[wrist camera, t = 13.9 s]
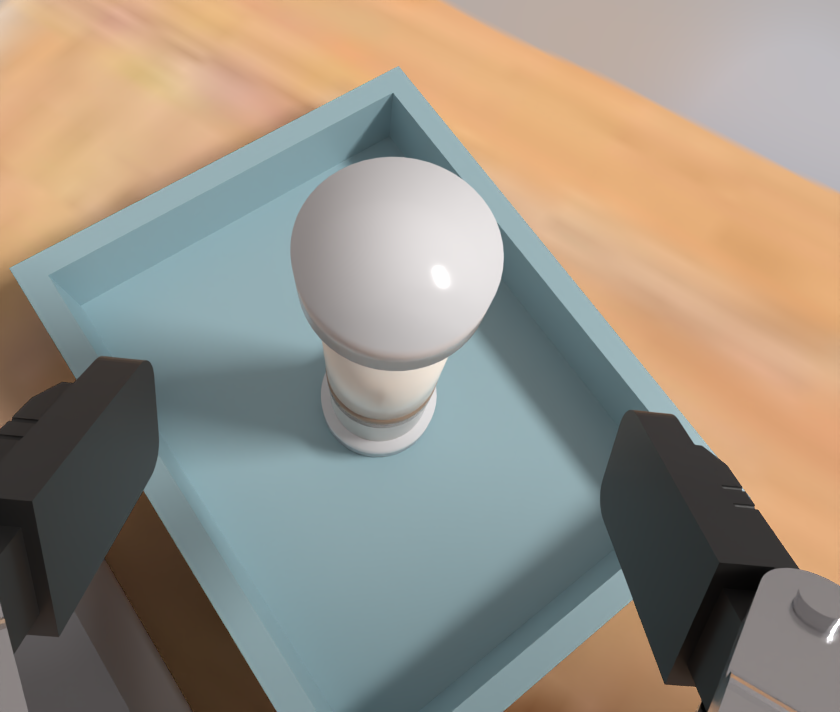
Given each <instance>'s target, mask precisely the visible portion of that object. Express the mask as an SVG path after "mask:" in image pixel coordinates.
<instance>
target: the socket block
mask: <svg viewBox="0 0 840 712" xmlns="http://www.w3.org/2000/svg"><path fill="white" fill-rule="evenodd" d="M14 658H15V662H16V666H17V669H18V673H19V677H20V681H21V685H22V689H23V693H24V697H25V701H26V705H27V709H28V712H193V711H192V710H191V708H190V706H189V704H188V703H187V701H186V699H185V697H184V696H183V694H182V692H181V691H180V689H179V687H178V685H177V684H176V682H175V680H174V678H173V677H172V675H171V673H170V671H169V670H168V668H167V666H166V664H165V663H164V661H163V659H162V658H161V656H160V654H159V652H158V651H157V649H156V647H155V645H154V644H153V642H152V640H151V638H150V637H149V635H148V633H147V631H146V630H145V628H144V626H143V624H142V623H141V621H140V619H139V618H138V616H137V614H136V612H135V611H134V609H133V607H132V605H131V604H130V602H129V600H128V598H127V597H126V595H125V593H124V591H123V590H122V588H121V586H120V585H119V583H118V581H117V579H116V578H115V576H114V574H113V572H112V571H111V569H110V567H109V565H108V564H107V562H106V560H105V558H104V560H103V562H102V563H101V565H100V567H99V568H98V570H97V572H96V574H95V575H94V577H93V579H92V581H91V582H90V584H89V586H88V588H87V589H86V591H85V593H84V595H83V596H82V598H81V600H80V602H79V603H78V605H77V607H76V609H75V610H74V612H73V614H72V616H71V617H70V619H69V621H68V622H67V624H66V626H65V628H64V629H63V631H62V633H61V635H60V636H59V637H50V636H36V635H26V636H25V638H24V639H23V641H22V643H21V644H20V646H19V647H18V649H17V651H16V652H15V654H14Z"/></svg>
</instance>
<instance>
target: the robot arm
mask: <svg viewBox="0 0 840 712" xmlns="http://www.w3.org/2000/svg"><path fill="white" fill-rule="evenodd" d="M158 451H159V430H158V417H157V405H156V392H155V379H154V371H153V367H152V365H151V363H150V362H149V361H147V360H139V359H129V358H119V357H109V356H100V357H98V358H97V359H95V360H94V362H93V363H92V364H91V365H90V366H89V367H88V368H87V369H86V370H85V371H84V372H83V373H82V374H81V375H80V377H79V378H78V379H77V380H76V381H75V382H74V383H67V382H61V383H59V384H57V385H56V386H54V387H52V388H50V389H48V390H46V391H44V392H42V393H40V394H38V395H36V396H34V397H32V398H31V399H30V400H29V401H28V402H27V403H26V404H25V405H24V406H23V407H22V408H21V409H20V410H19V411H18V412H17V413H16V414H15V415H14V416H13V417H12V421H8V422H7V423H6V424H5V425H4V426H3V427H2V428H1V429H0V712H28V709H27V705H26V701H25V697H24V693H23V689H22V685H21V681H20V677H19V673H18V669H17V666H16V662H15V658H14V654H15V652H16V651H17V649H18V647H19V646H20V644H21V643H22V641H23V639H24V638H25V636H26V635H36V636H50V637H59V636H60V635H61V633H62V631H63V629H64V628H65V626H66V624H67V622H68V621H69V619H70V617H71V616H72V614H73V612H74V610H75V609H76V607H77V605H78V603H79V602H80V600H81V598H82V596H83V595H84V593H85V591H86V589H87V588H88V586H89V584H90V582H91V581H92V579H93V577H94V575H95V574H96V572H97V570H98V568H99V567H100V565H101V563H102V562H103V560H104V558H105V556H106V555H107V553H108V551H109V549H110V548H111V546H112V544H113V542H114V541H115V539H116V537H117V535H118V534H119V532H120V530H121V528H122V527H123V525H124V523H125V521H126V520H127V518H128V516H129V514H130V513H131V511H132V509H133V508H134V506H135V504H136V502H137V501H138V499H139V497H140V495H141V494H142V492H143V490H144V488H145V487H146V485H147V483H148V481H149V480H150V478H151V476H152V474H153V471H154V469H155V466H156V462H157V457H158ZM754 506H755V505H754V503H753V502H752V500H751V499H750V497H749V496H748V495H747V493H746V492H745V491H742V486H741V485H740V483H739V482H738V480H737V479H736V477H735V476H734V475H733V473H732V472H731V470H730V469H729V467H728V466H727V465H726V464H725V463H724V462H722V461H721V460H720V459H719V458H717V457H716V456H715V455H714V454H712V453H711V452H710V451H709V450H707V449H706V448H705V447H704V446H702V445H695V444H694V443H693V441H692V440H691V438H690V437H689V435H688V434H687V432H686V431H685V429H684V427H683V426H682V424H681V423H680V421H679V420H678V418H677V417H676V416H675V415H673V414H668V413H658V412H648V411H638V410H628V411H627V412H626V413H625V414H624V415H623V417H622V419H621V422H620V425H619V428H618V432H617V435H616V438H615V441H614V445H613V448H612V451H611V454H610V457H609V461H608V464H607V467H606V470H605V473H604V477H603V480H602V484H601V490H600V508H601V514H602V518H603V521H604V523H605V526H606V529H607V531H608V534H609V537H610V539H611V542H612V545H613V547H614V550H615V553H616V555H617V558H618V561H619V563H620V566H621V569H622V572H623V574H624V577H625V580H626V582H627V585H628V588H629V590H630V593H631V596H632V598H633V601H634V604H635V606H636V609H637V612H638V614H639V617H640V620H641V622H642V625H643V628H644V630H645V633H646V636H647V638H648V641H649V644H650V646H651V649H652V652H653V654H654V657H655V660H656V662H657V665H658V668H659V670H660V673H661V676H662V678H663V681H664V684H666V685H680V686H693V687H696V688H697V690H698V692H699V695H700V697H701V702H700V704H699V706H698V708H697V710H696V712H840V586H839V585H837V584H836V583H834V582H832V581H830V580H828V579H826V578H824V577H821V576H819V575H817V574H814V573H811V572H808V571H804V570H800V569H799V568H798V566H797V565H796V564H795V562H794V561H793V559H792V558H791V556H790V555H789V553H788V552H787V551H786V549H785V548H784V546H783V545H782V543H781V542H780V541H779V539H778V538H777V536H776V535H775V533H774V532H773V531H772V529H771V528H770V526H769V525H768V523H767V522H766V520H765V519H764V518H763V516H762V515H761V513H760V512H759V510H755V508H754Z"/></svg>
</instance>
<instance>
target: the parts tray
mask: <svg viewBox="0 0 840 712" xmlns="http://www.w3.org/2000/svg"><path fill="white" fill-rule="evenodd" d="M381 157H405V158H413V159H418V160H422V161H426V162H430V163H432V164H435V165H437V166H440V167H442V168H444V169H446V170H448V171H450V172H452V173H454V174H455V175H457V176H458V177H460V178H461V179H463V180H464V181H465V182H466V183H468V184H469V185H470V186H471V187H472V188H473V189H474V190H475V191H476V192H477V193H478V194H479V195H480V196H481V197H482V198H483V200H484V201H485V203H486V204H487V205H488V207H489V208H490V210H491V212H492V214H493V216H494V218H495V219H496V222H497V225H498V227H499V230H500V233H501V238H502V242H503V252H504V261H503V271H502V276H501V281H500V284H499V286H498V289H497V292H496V294H495V296H494V298H493V300H492V302H491V304H490V306H489V308H488V310H487V312H486V313H485V315H484V317H483V319H482V321H481V323H480V325H479V327H478V328H477V330H476V331H475V333H474V334H473V335H472V337H471V338H470V339H469V340H468V341H467V342H466V343H465V344H464V345H463V346H462V347H461V348H460V349H459V350H457V351H456V352H455V353H453V354H452V355H451V356H449V357H448V358H447V361H446V363H445V365H444V367H443V370H442V372H441V374H440V377H439V379H438V382H437V385H436V393H437V398H436V406H435V410H434V413H433V416H432V419H431V420H430V422H429V424H428V426H427V428H426V430H425V432H424V433H423V435H422V436H421V437H420V439H419V440H418V441H417V442H416V443H415V444H413V445H412V446H411V447H410V448H408V449H406V450H405V451H403V452H401V453H398V454H396V455H392V456H388V457H367V456H363V455H360V454H357V453H355V452H353V451H351V450H349V449H347V448H346V447H345V446H343V445H342V444H341V443H340V442H339V441H338V440H337V439H336V438H335V437H334V436H333V434H332V433H331V431H330V429H329V428H328V426H327V423H326V421H325V417H324V413H323V409H322V403H321V387H322V382H323V378H324V375H325V373H326V365H325V358H324V352H323V345H322V340H321V339H320V338H319V337H318V335H317V334H316V333H315V332H314V330H313V329H312V328H311V326H310V324H309V323H308V321H307V319H306V317H305V315H304V313H303V310H302V308H301V305H300V301H299V297H298V293H297V289H296V284H295V280H294V275H293V270H292V265H291V256H290V243H291V236H292V230H293V226H294V223H295V220H296V217H297V215H298V213H299V211H300V209H301V207H302V205H303V204H304V202H305V201H306V199H307V198H308V197H309V195H310V194H311V193H312V192H313V191H314V190H315V188H316V187H317V186H318V185H319V184H321V183H322V182H323V181H324V180H325V179H327V178H328V177H329V176H331V175H332V174H334V173H336V172H337V171H339V170H341V169H343V168H345V167H347V166H349V165H351V164H355V163H358V162H361V161H364V160H369V159H374V158H381ZM9 269H10V270H11V272H12V273H13V275H14V277H15V278H16V280H17V282H18V283H19V285H20V287H21V288H22V290H23V292H24V293H25V295H26V297H27V298H28V300H29V302H30V303H31V305H32V307H33V308H34V310H35V312H36V313H37V315H38V317H39V318H40V320H41V322H42V323H43V325H44V327H45V328H46V330H47V332H48V333H49V335H50V336H51V338H52V340H53V341H54V343H55V345H56V346H57V348H58V350H59V351H60V353H61V355H62V356H63V358H64V360H65V361H66V363H67V365H68V366H69V368H70V370H71V371H72V373H73V375H74V376H75V378H76V380H77V379H78V378H79V377H80V375H81V374H82V373H83V372H84V371H85V370H86V369H87V368H88V367H89V366H90V365H91V364H92V363H93V362H94V360H95V359H97V358H98V357H100V356H109V357H119V358H129V359H139V360H147V361H149V362H150V363H151V365H152V367H153V371H154V379H155V392H156V405H157V417H158V430H159V451H158V457H157V462H156V466H155V469H154V471H153V474H152V476H151V478H150V480H149V481H148V483H147V485H146V487H145V488H144V490H143V491H144V492H145V494H146V496H147V497H148V499H149V501H150V502H151V504H152V506H153V507H154V509H155V511H156V512H157V514H158V516H159V517H160V519H161V521H162V522H163V524H164V526H165V527H166V529H167V530H168V532H169V534H170V535H171V537H172V539H173V540H174V542H175V544H176V545H177V547H178V549H179V550H180V552H181V554H182V555H183V557H184V559H185V560H186V562H187V564H188V565H189V567H190V569H191V570H192V572H193V574H194V575H195V577H196V579H197V580H198V582H199V584H200V585H201V587H202V589H203V590H204V592H205V594H206V595H207V597H208V598H209V600H210V602H211V603H212V605H213V607H214V608H215V610H216V612H217V613H218V615H219V617H220V618H221V620H222V622H223V623H224V625H225V627H226V628H227V630H228V632H229V633H230V635H231V637H232V638H233V640H234V642H235V643H236V645H237V647H238V648H239V650H240V652H241V653H242V655H243V657H244V658H245V660H246V661H247V663H248V665H249V666H250V668H251V670H252V671H253V673H254V675H255V676H256V678H257V680H258V681H259V683H260V685H261V686H262V688H263V690H264V691H265V693H266V695H267V696H268V698H269V700H270V701H271V703H272V705H273V706H274V708H275V710H276V711H277V712H503V711H504V710H505V709H507V708H508V707H509V706H510V705H511V704H512V703H513V702H515V701H516V700H517V699H518V698H519V697H520V696H522V695H523V694H524V693H525V692H526V691H527V690H529V689H530V688H531V687H532V686H533V685H534V684H535V683H537V682H538V681H539V680H540V679H541V678H542V677H544V676H545V675H546V674H547V673H548V672H549V671H551V670H552V669H553V668H554V667H555V666H556V665H557V664H559V663H560V662H561V661H562V660H563V659H564V658H566V657H567V656H568V655H569V654H570V653H571V652H573V651H574V650H575V649H576V648H577V647H578V646H580V645H581V644H582V643H583V642H584V641H585V640H586V639H588V638H589V637H590V636H591V635H592V634H593V633H595V632H596V631H597V630H598V629H599V628H600V627H602V626H603V625H604V624H605V623H606V622H607V621H608V620H610V619H611V618H612V617H613V616H614V615H615V614H617V613H618V612H619V611H620V610H621V609H622V608H624V607H625V606H626V605H627V604H628V603H629V602H630V601H632V600H633V598H632V596H631V593H630V590H629V588H628V585H627V582H626V580H625V577H624V574H623V572H622V569H621V566H620V563H619V561H618V558H617V555H616V553H615V550H614V547H613V545H612V542H611V539H610V537H609V534H608V531H607V529H606V526H605V523H604V521H603V518H602V514H601V508H600V490H601V484H602V480H603V477H604V473H605V470H606V467H607V464H608V461H609V457H610V454H611V451H612V448H613V445H614V441H615V438H616V435H617V432H618V428H619V425H620V422H621V419H622V417H623V415H624V414H625V413H626V412H627V411H628V410H638V411H648V412H658V413H668V414H673V415H675V416H676V417H677V418H678V420H679V421H680V423H681V424H682V426H683V427H684V429H685V431H686V432H687V434H688V435H689V437H690V438H691V440H692V441H693V443H694V444H695V445H702V446H704V447H705V448H706V449H707V450H709V451H710V452H711V453H712V454H714V452H713V451H712V450H711V449H710V448H709V446H708V445H707V444H706V443H705V441H704V440H703V439H702V438H701V437H700V435H699V434H698V433H697V432H696V430H695V429H694V428H693V427H692V425H691V424H690V423H689V422H688V421H687V419H686V418H685V417H684V416H683V414H682V413H681V412H680V411H679V410H678V408H677V407H676V406H675V405H674V403H673V402H672V401H671V400H670V398H669V397H668V396H667V395H666V394H665V392H664V391H663V390H662V389H661V387H660V386H659V385H658V384H657V383H656V381H655V380H654V379H653V378H652V376H651V375H650V374H649V373H648V372H647V370H646V369H645V368H644V367H643V365H642V364H641V363H640V362H639V360H638V359H637V358H636V357H635V356H634V354H633V353H632V352H631V351H630V349H629V348H628V347H627V346H626V345H625V343H624V342H623V341H622V340H621V338H620V337H619V336H618V335H617V333H616V332H615V331H614V330H613V329H612V327H611V326H610V325H609V324H608V322H607V321H606V320H605V319H604V318H603V316H602V315H601V314H600V313H599V311H598V310H597V309H596V308H595V307H594V305H593V304H592V303H591V302H590V300H589V299H588V298H587V297H586V295H585V294H584V293H583V292H582V291H581V289H580V288H579V287H578V286H577V284H576V283H575V282H574V281H573V280H572V278H571V277H570V276H569V275H568V273H567V272H566V271H565V270H564V268H563V267H562V266H561V265H560V264H559V262H558V261H557V260H556V259H555V257H554V256H553V255H552V254H551V253H550V251H549V250H548V249H547V248H546V246H545V245H544V244H543V243H542V241H541V240H540V239H539V238H538V237H537V235H536V234H535V233H534V232H533V230H532V229H531V228H530V227H529V226H528V224H527V223H526V222H525V221H524V219H523V218H522V217H521V216H520V215H519V213H518V212H517V211H516V210H515V208H514V207H513V206H512V205H511V203H510V202H509V201H508V200H507V199H506V197H505V196H504V195H503V194H502V192H501V191H500V190H499V189H498V188H497V186H496V185H495V184H494V183H493V181H492V180H491V179H490V178H489V176H488V175H487V174H486V173H485V172H484V170H483V169H482V168H481V167H480V165H479V164H478V163H477V162H476V161H475V159H474V158H473V157H472V156H471V154H470V153H469V152H468V151H467V149H466V148H465V147H464V146H463V145H462V143H461V142H460V141H459V140H458V138H457V137H456V136H455V135H454V134H453V132H452V131H451V130H450V129H449V127H448V126H447V125H446V124H445V123H444V121H443V120H442V119H441V118H440V116H439V115H438V114H437V113H436V111H435V110H434V109H433V108H432V107H431V105H430V104H429V103H428V102H427V100H426V99H425V98H424V97H423V96H422V94H421V93H420V92H419V91H418V89H417V88H416V87H415V86H414V84H413V83H412V82H411V81H410V80H409V78H408V77H407V76H406V75H405V73H404V72H403V71H402V70H401V69H400V67H399V66H398V67H396V68H394V69H392V70H390V71H388V72H386V73H384V74H382V75H380V76H379V77H377V78H375V79H373V80H371V81H369V82H367V83H365V84H363V85H361V86H359V87H357V88H355V89H353V90H352V91H350V92H348V93H346V94H344V95H342V96H340V97H338V98H336V99H334V100H332V101H330V102H328V103H327V104H325V105H323V106H321V107H319V108H317V109H315V110H313V111H311V112H309V113H307V114H305V115H303V116H301V117H300V118H298V119H296V120H294V121H292V122H290V123H288V124H286V125H284V126H282V127H280V128H278V129H276V130H275V131H273V132H271V133H269V134H267V135H265V136H263V137H261V138H259V139H257V140H255V141H253V142H251V143H249V144H248V145H246V146H244V147H242V148H240V149H238V150H236V151H234V152H232V153H230V154H228V155H226V156H224V157H223V158H221V159H219V160H217V161H215V162H213V163H211V164H209V165H207V166H205V167H203V168H201V169H199V170H197V171H196V172H194V173H192V174H190V175H188V176H186V177H184V178H182V179H180V180H178V181H176V182H174V183H172V184H171V185H169V186H167V187H165V188H163V189H161V190H159V191H157V192H155V193H153V194H151V195H149V196H147V197H145V198H144V199H142V200H140V201H138V202H136V203H134V204H132V205H130V206H128V207H126V208H124V209H122V210H120V211H118V212H117V213H115V214H113V215H111V216H109V217H107V218H105V219H103V220H101V221H99V222H97V223H95V224H93V225H92V226H90V227H88V228H86V229H84V230H82V231H80V232H78V233H76V234H74V235H72V236H70V237H68V238H66V239H65V240H63V241H61V242H59V243H57V244H55V245H53V246H51V247H49V248H47V249H45V250H43V251H41V252H40V253H38V254H36V255H34V256H32V257H30V258H28V259H26V260H24V261H22V262H20V263H18V264H16V265H14V266H13V267H11V268H9ZM714 455H715V454H714ZM715 456H716V455H715ZM716 457H717V456H716ZM717 458H718V457H717ZM742 491H745V490H744V489H743V488H742ZM747 495H748V494H747ZM748 496H749V495H748Z"/></svg>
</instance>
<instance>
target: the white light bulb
mask: <svg viewBox="0 0 840 712" xmlns="http://www.w3.org/2000/svg"><path fill="white" fill-rule="evenodd" d="M290 256H291V265H292V270H293V275H294V280H295V284H296V289H297V293H298V297H299V301H300V305H301V308H302V310H303V313H304V315H305V317H306V319H307V321H308V323H309V324H310V326H311V328H312V329H313V330H314V332H315V333H316V334H317V335H318V337H319V338H320V339H321V340H322V345H323V352H324V358H325V365H326V373H325V375H324V378H323V382H322V387H321V403H322V409H323V413H324V417H325V421H326V423H327V426H328V428H329V429H330V431H331V433H332V434H333V436H334V437H335V438H336V439H337V440H338V441H339V442H340V443H341V444H342V445H343V446H345V447H346V448H347V449H349V450H351V451H353V452H355V453H357V454H360V455H363V456H367V457H388V456H392V455H396V454H398V453H401V452H403V451H405V450H406V449H408V448H410V447H411V446H412V445H413V444H415V443H416V442H417V441H418V440H419V439H420V437H421V436H422V435H423V433H424V432H425V430H426V428H427V426H428V424H429V422H430V420H431V419H432V416H433V413H434V410H435V406H436V398H437V393H436V385H437V382H438V379H439V377H440V374H441V372H442V370H443V367H444V365H445V363H446V361H447V358H448V357H449V356H451V355H452V354H453V353H455V352H456V351H457V350H459V349H460V348H461V347H462V346H463V345H464V344H465V343H466V342H467V341H468V340H469V339H470V338H471V337H472V335H473V334H474V333H475V331H476V330H477V328H478V327H479V325H480V323H481V321H482V319H483V317H484V315H485V313H486V312H487V310H488V308H489V306H490V304H491V302H492V300H493V298H494V296H495V294H496V292H497V289H498V286H499V284H500V281H501V276H502V271H503V261H504V252H503V242H502V238H501V233H500V230H499V227H498V225H497V222H496V219H495V218H494V216H493V214H492V212H491V210H490V208H489V207H488V205H487V204H486V203H485V201H484V200H483V198H482V197H481V196H480V195H479V194H478V193H477V192H476V191H475V190H474V189H473V188H472V187H471V186H470V185H469V184H468V183H466V182H465V181H464V180H463V179H461V178H460V177H458V176H457V175H455V174H454V173H452V172H450V171H448V170H446V169H444V168H442V167H440V166H437V165H435V164H432V163H430V162H426V161H422V160H418V159H413V158H405V157H381V158H374V159H369V160H364V161H361V162H358V163H355V164H351V165H349V166H347V167H345V168H343V169H341V170H339V171H337V172H336V173H334V174H332V175H331V176H329V177H328V178H327V179H325V180H324V181H323V182H322V183H321V184H319V185H318V186H317V187H316V188H315V190H314V191H313V192H312V193H311V194H310V195H309V197H308V198H307V199H306V201H305V202H304V204H303V205H302V207H301V209H300V211H299V213H298V215H297V217H296V220H295V223H294V226H293V230H292V236H291V243H290Z"/></svg>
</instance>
